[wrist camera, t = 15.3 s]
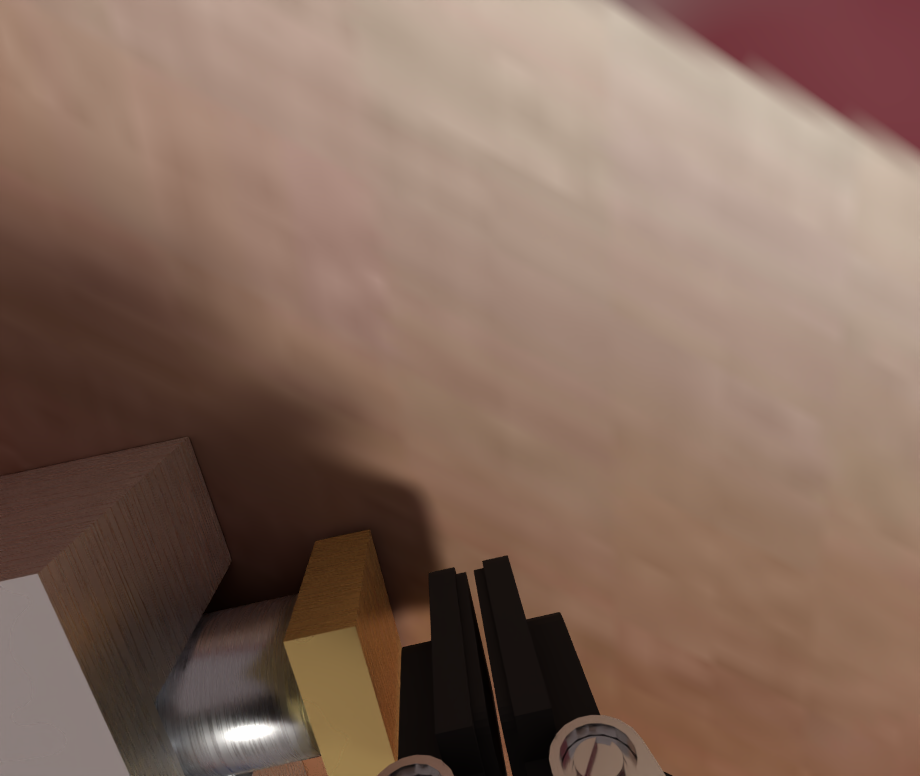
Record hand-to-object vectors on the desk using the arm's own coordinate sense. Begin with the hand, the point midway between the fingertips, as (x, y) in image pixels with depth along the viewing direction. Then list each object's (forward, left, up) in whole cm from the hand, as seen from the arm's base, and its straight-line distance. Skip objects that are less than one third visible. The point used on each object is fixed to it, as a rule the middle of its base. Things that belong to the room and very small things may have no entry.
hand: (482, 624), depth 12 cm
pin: (0, +7, -1) cm, 7 cm away
